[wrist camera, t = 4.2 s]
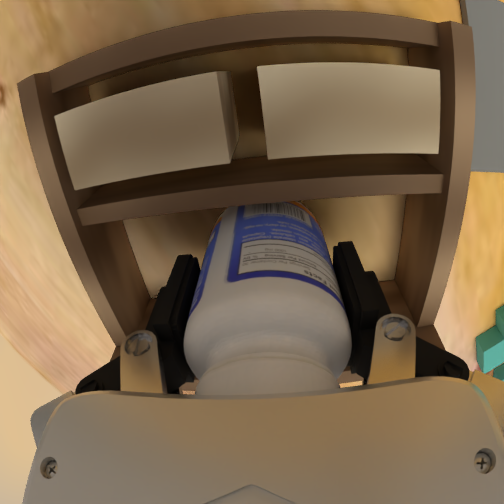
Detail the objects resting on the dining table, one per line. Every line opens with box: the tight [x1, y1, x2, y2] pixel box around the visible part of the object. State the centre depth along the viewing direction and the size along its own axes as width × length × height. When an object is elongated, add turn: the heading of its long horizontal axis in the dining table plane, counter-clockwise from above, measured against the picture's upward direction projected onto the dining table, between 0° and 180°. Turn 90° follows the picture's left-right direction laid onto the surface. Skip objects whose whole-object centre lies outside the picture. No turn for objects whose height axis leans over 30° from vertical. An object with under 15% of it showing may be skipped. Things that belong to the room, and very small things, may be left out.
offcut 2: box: [257, 62, 440, 159], centre depth 10 cm, size 3×6×4 cm, turn 97°
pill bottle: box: [184, 201, 352, 395], centre depth 11 cm, size 5×5×10 cm
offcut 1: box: [54, 71, 240, 190], centre depth 11 cm, size 3×6×4 cm, turn 97°
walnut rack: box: [17, 10, 476, 391], centre depth 12 cm, size 15×17×6 cm
